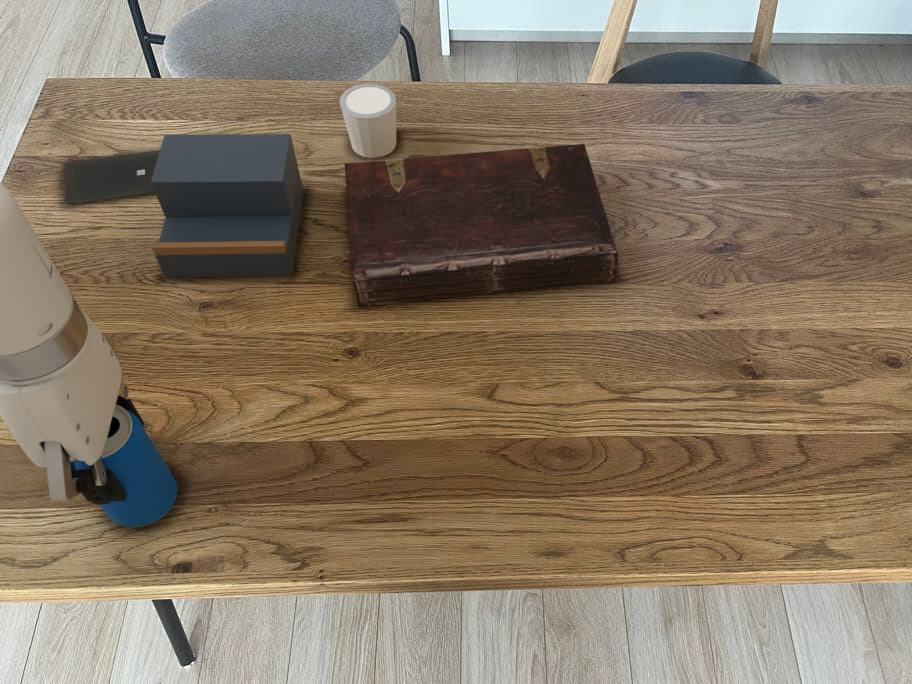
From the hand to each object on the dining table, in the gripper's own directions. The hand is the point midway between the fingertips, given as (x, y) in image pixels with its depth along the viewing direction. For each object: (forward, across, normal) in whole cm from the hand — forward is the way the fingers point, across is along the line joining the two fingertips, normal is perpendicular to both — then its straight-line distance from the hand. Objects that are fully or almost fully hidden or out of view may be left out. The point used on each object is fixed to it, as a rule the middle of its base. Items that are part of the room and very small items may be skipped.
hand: (117, 461), depth 76 cm
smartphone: (+7, -45, -10) cm, 47 cm away
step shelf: (+7, -35, +4) cm, 36 cm away
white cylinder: (+7, -51, +19) cm, 55 cm away
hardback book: (+7, -34, +32) cm, 47 cm away
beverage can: (+7, 0, 0) cm, 7 cm away
